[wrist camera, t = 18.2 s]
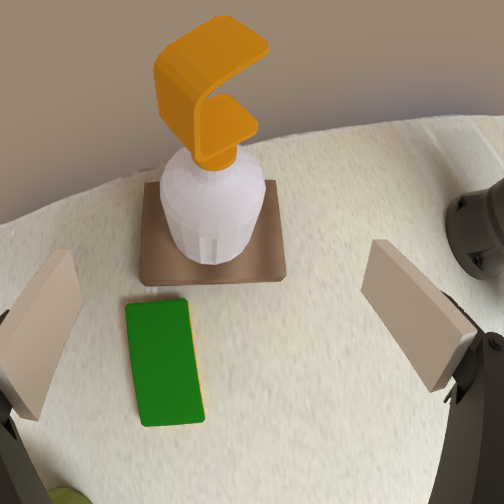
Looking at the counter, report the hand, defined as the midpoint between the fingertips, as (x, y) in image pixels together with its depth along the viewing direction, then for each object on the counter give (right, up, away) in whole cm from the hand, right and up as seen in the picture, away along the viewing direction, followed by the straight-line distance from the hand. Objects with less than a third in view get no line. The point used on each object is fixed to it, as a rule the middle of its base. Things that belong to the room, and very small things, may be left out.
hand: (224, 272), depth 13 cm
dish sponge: (-9, -12, +21) cm, 25 cm away
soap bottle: (-3, +4, +23) cm, 23 cm away
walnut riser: (-4, +3, +25) cm, 26 cm away
